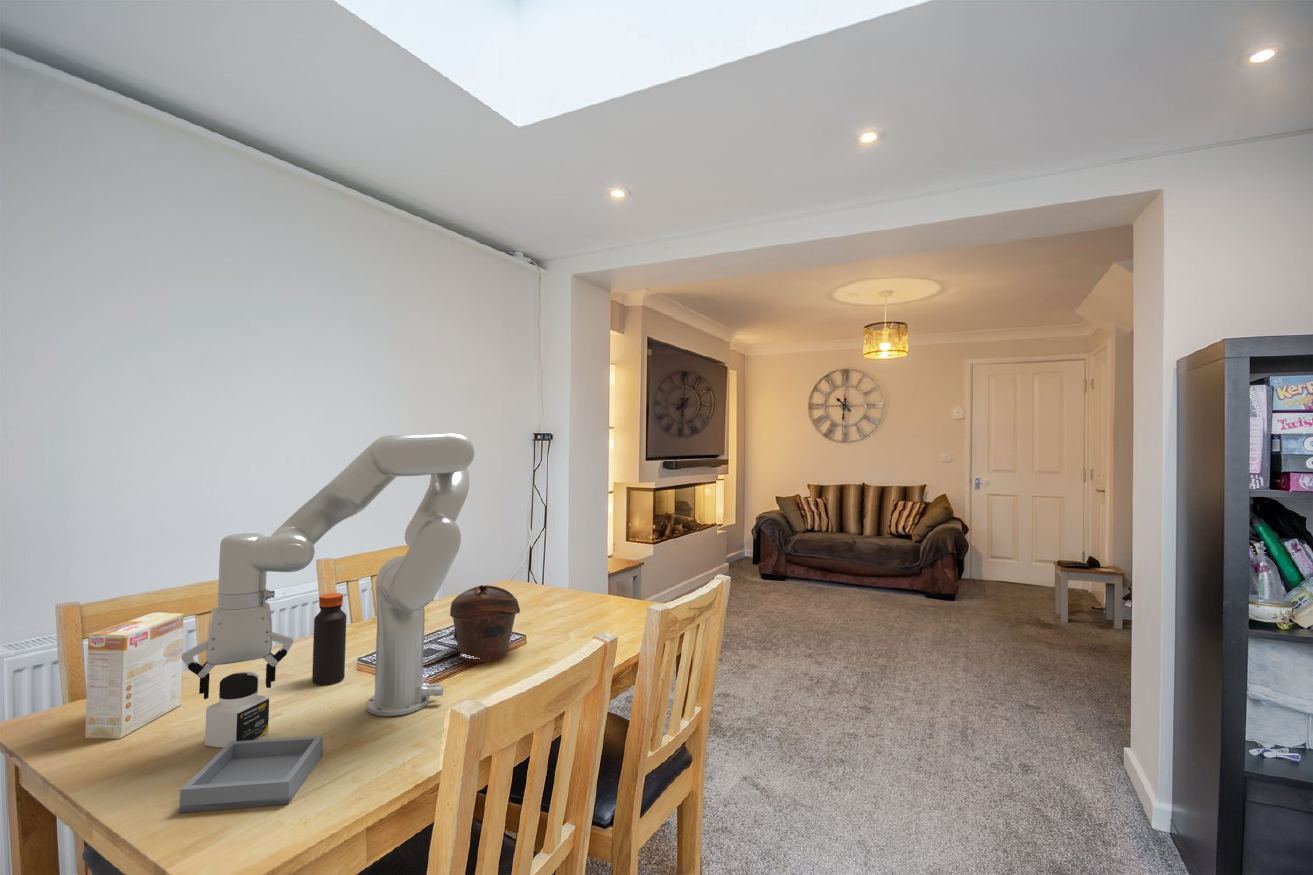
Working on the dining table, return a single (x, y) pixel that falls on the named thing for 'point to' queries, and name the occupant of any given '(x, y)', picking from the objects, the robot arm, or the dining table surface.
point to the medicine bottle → (237, 711)
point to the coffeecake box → (133, 674)
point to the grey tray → (252, 774)
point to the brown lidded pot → (484, 622)
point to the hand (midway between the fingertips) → (237, 690)
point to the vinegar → (329, 641)
